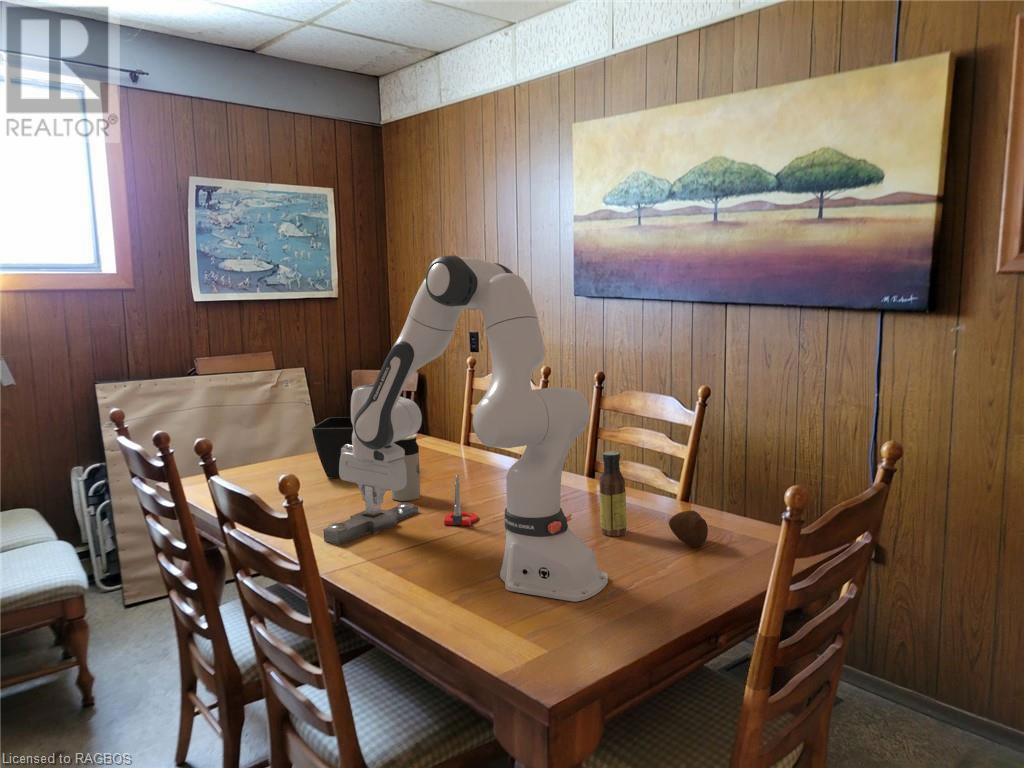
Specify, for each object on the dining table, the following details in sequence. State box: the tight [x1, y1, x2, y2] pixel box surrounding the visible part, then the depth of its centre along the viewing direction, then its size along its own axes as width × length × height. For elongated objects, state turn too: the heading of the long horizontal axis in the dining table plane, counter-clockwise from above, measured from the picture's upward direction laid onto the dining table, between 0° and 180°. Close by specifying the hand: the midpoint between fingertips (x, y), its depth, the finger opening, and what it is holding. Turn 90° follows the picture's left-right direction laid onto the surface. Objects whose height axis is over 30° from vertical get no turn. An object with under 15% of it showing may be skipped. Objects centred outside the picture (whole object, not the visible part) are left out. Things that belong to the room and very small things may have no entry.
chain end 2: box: [369, 501, 419, 534], centre depth 186 cm, size 8×18×2 cm, turn 146°
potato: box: [668, 510, 709, 547], centre depth 166 cm, size 7×10×8 cm
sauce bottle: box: [599, 450, 628, 537], centre depth 173 cm, size 7×6×20 cm
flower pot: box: [311, 416, 353, 479], centre depth 229 cm, size 19×19×17 cm
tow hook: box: [443, 474, 479, 527], centre depth 184 cm, size 8×13×9 cm
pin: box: [364, 485, 382, 518], centre depth 181 cm, size 3×3×8 cm
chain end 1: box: [322, 508, 396, 546], centre depth 177 cm, size 8×18×4 cm, turn 146°
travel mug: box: [391, 433, 421, 502], centre depth 203 cm, size 8×8×18 cm
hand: (372, 502), depth 181 cm, fingers closed on pin, 3 cm apart
